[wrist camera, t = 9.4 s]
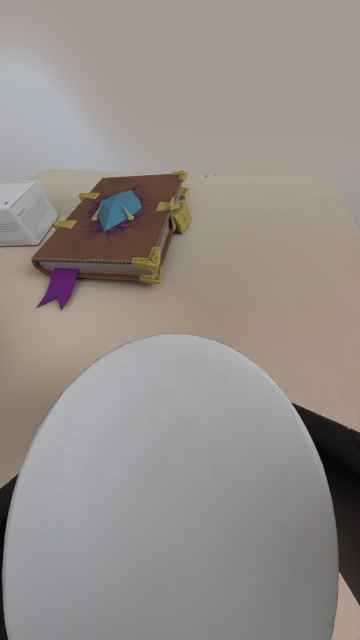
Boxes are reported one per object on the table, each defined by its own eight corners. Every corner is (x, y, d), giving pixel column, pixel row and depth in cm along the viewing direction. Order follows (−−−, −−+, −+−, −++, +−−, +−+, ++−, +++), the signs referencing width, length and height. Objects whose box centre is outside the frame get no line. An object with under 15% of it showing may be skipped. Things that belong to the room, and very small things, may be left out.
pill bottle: (128, 419, 14) (-19, 374, 4) (203, 383, 15) (225, 281, 5) (157, 532, 10) (-198, 1531, 1) (249, 475, 12) (528, 649, 2)
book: (25, 312, 20) (-20, 279, 16) (108, 200, 33) (94, 166, 29) (168, 325, 18) (157, 290, 13) (198, 198, 30) (197, 159, 26)
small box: (60, 216, 30) (38, 178, 25) (38, 247, 25) (7, 208, 21) (14, 217, 30) (-16, 180, 26) (-15, 248, 26) (-56, 210, 22)
